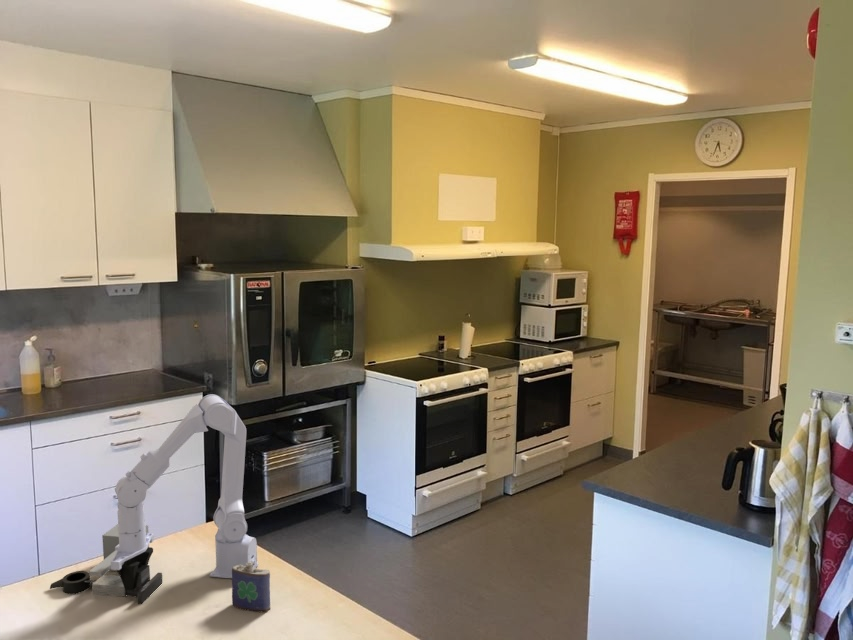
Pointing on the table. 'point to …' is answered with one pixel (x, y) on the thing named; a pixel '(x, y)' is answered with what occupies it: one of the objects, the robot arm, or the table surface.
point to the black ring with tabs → (74, 582)
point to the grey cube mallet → (108, 551)
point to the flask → (250, 588)
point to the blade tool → (141, 591)
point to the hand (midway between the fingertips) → (134, 584)
